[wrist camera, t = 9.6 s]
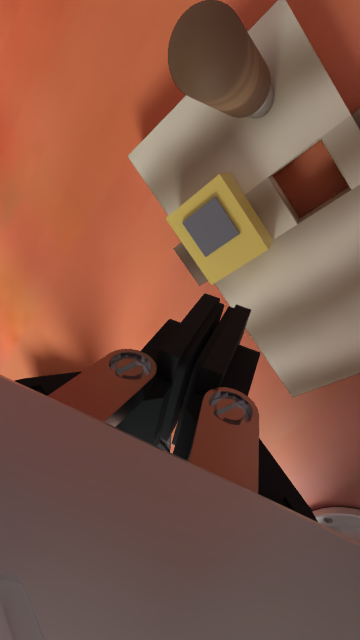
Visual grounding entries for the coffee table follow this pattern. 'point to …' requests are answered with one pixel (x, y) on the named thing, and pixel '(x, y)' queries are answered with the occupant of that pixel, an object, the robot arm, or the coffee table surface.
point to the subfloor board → (277, 206)
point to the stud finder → (220, 228)
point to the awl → (219, 62)
